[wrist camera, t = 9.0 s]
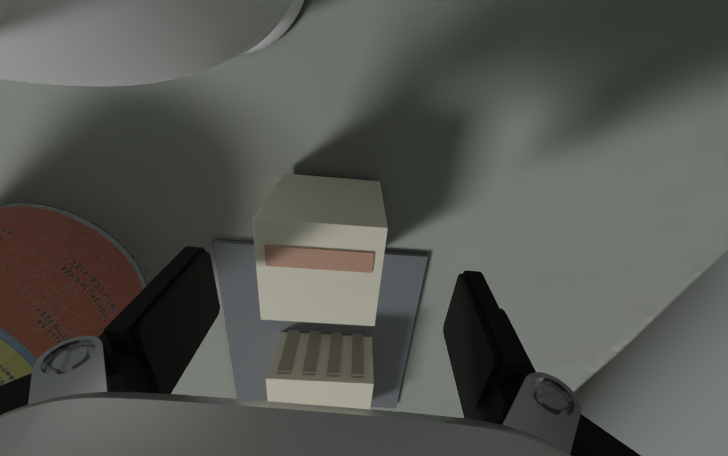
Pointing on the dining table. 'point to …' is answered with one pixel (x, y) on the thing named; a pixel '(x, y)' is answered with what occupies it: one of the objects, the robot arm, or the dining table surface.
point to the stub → (320, 250)
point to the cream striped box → (321, 369)
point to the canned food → (56, 282)
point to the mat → (259, 337)
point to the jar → (132, 38)
